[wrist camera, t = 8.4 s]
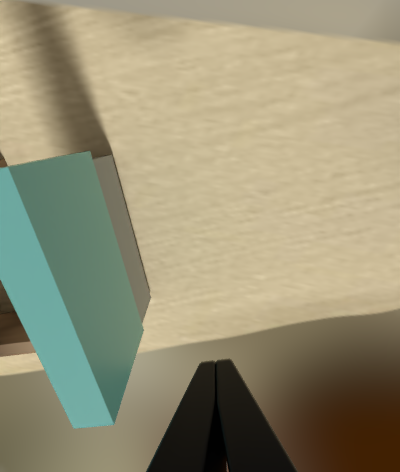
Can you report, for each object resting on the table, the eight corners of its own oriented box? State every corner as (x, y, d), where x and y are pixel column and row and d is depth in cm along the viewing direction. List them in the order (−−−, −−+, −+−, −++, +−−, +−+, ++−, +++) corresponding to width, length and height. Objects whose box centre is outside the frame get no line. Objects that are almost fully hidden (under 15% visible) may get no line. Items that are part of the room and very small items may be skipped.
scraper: (109, 146, 18) (8, 167, 9) (152, 302, 22) (114, 425, 13) (80, 152, 18) (-51, 177, 9) (128, 305, 22) (73, 428, 13)
